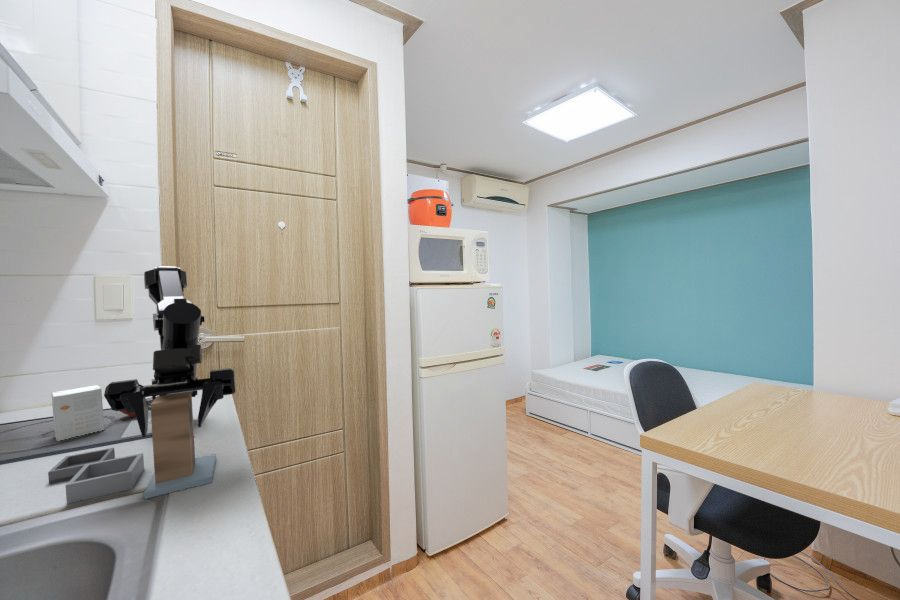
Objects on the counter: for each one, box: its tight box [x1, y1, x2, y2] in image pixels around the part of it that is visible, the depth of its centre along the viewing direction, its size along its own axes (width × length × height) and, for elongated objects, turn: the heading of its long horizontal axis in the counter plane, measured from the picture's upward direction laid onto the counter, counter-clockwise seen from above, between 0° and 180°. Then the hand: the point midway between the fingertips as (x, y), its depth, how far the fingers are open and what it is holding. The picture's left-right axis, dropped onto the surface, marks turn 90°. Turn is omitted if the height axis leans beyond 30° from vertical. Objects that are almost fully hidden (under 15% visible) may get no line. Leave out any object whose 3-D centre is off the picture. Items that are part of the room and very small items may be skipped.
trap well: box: [47, 446, 116, 484], centre depth 67 cm, size 7×7×2 cm
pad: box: [143, 453, 217, 500], centre depth 64 cm, size 10×9×1 cm
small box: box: [51, 384, 106, 442], centre depth 85 cm, size 8×6×10 cm
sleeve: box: [65, 452, 145, 505], centre depth 62 cm, size 8×8×3 cm
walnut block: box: [150, 392, 196, 484], centre depth 63 cm, size 5×5×14 cm
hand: (172, 430), depth 62 cm, fingers open, 7 cm apart
